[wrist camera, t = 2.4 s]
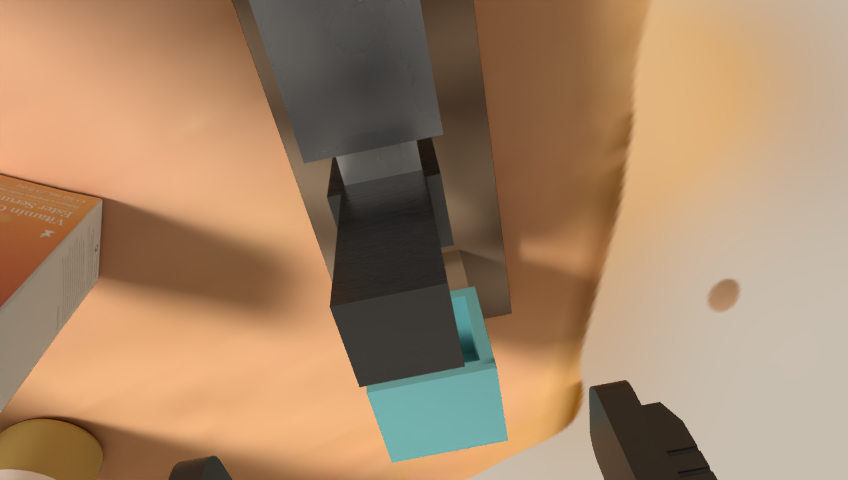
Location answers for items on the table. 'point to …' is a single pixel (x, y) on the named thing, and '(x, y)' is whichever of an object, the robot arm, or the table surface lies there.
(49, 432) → the paper tube
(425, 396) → the socket
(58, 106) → the table surface
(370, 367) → the grey block with post
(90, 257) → the small box
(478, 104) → the rig base
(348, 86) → the sleeve
